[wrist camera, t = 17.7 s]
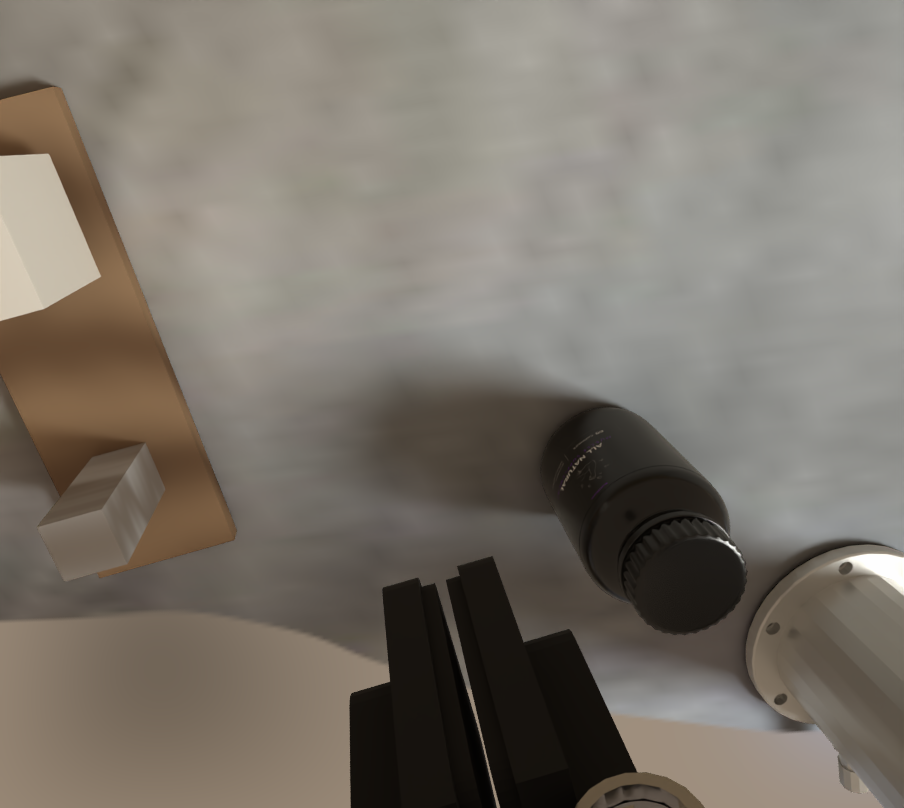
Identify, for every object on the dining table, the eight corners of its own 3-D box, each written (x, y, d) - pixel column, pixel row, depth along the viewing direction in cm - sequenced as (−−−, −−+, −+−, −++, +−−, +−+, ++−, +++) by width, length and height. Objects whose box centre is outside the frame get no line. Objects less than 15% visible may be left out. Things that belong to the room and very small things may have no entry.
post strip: (236, 530, 39) (212, 622, 32) (105, 567, 39) (49, 668, 32) (61, 88, 32) (-27, 72, 24) (-105, 129, 31) (-245, 127, 24)
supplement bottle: (542, 403, 39) (621, 508, 28) (666, 403, 40) (790, 504, 29) (532, 520, 42) (601, 661, 30) (649, 517, 43) (758, 652, 31)
